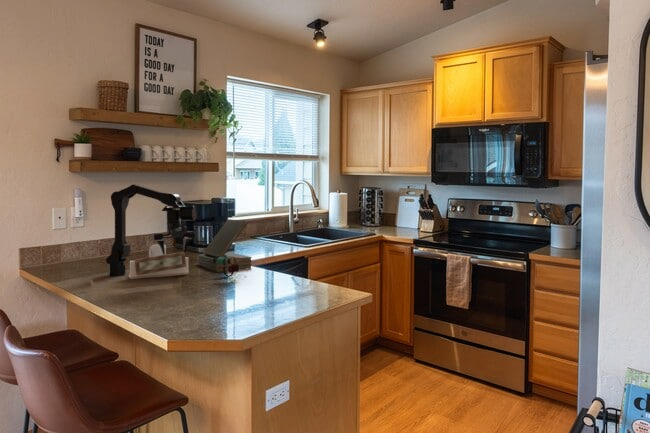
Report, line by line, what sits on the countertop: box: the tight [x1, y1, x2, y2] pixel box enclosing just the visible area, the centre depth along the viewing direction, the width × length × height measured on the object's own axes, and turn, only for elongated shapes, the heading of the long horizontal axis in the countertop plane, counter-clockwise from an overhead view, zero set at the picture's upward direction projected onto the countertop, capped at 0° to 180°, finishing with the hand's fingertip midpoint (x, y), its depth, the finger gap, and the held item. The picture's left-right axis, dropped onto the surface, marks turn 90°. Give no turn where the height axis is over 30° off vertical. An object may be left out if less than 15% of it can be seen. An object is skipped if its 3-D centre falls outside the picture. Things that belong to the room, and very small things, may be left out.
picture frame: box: [134, 251, 186, 275], centre depth 220 cm, size 22×2×7 cm, turn 121°
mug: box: [148, 243, 167, 257], centre depth 247 cm, size 10×7×12 cm, turn 66°
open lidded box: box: [198, 219, 252, 273], centre depth 251 cm, size 23×20×25 cm
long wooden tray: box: [128, 256, 190, 280], centre depth 224 cm, size 26×6×8 cm, turn 121°
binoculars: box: [213, 255, 240, 277], centre depth 224 cm, size 9×11×10 cm
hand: (174, 254), depth 223 cm, fingers open, 9 cm apart
